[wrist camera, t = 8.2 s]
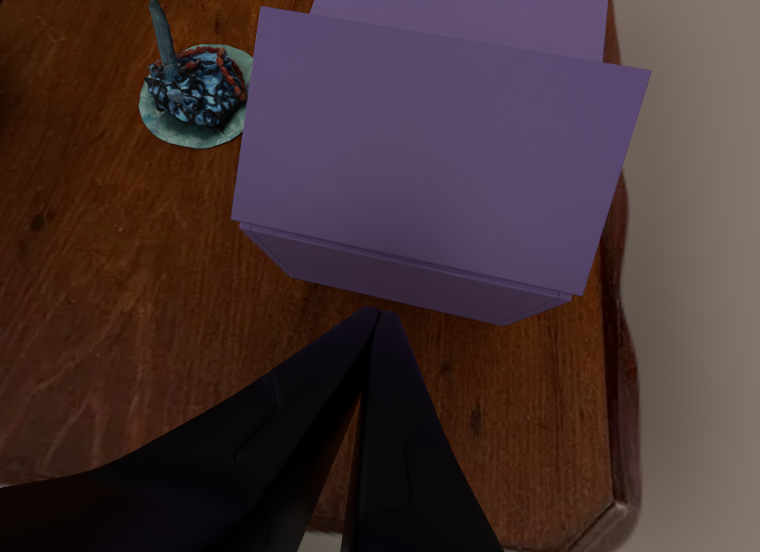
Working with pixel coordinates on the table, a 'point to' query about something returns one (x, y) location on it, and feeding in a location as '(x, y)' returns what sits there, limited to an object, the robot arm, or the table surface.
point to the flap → (434, 146)
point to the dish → (194, 90)
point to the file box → (417, 278)
